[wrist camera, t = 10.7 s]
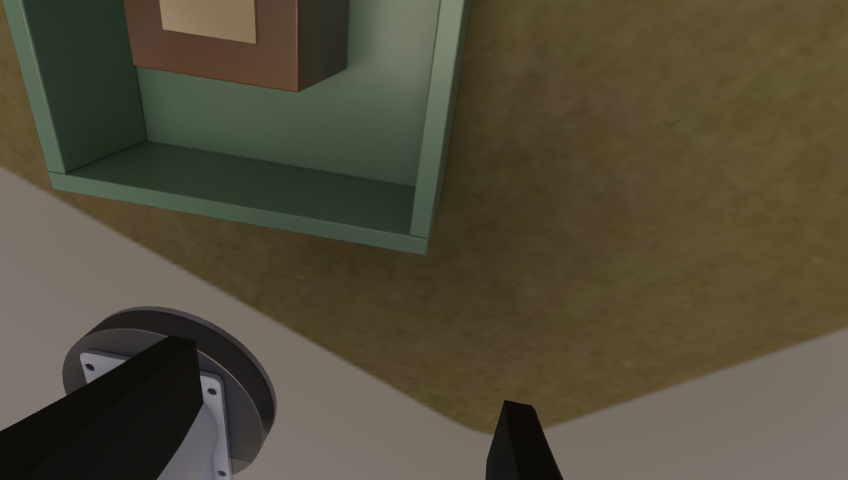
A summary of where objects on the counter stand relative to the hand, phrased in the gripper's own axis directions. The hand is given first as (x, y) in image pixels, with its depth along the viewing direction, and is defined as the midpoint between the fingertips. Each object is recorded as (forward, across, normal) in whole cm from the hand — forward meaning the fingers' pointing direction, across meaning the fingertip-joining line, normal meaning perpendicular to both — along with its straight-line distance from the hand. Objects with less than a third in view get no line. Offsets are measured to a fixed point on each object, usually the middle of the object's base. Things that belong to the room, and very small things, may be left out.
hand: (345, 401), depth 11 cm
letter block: (+9, +5, -8) cm, 13 cm away
